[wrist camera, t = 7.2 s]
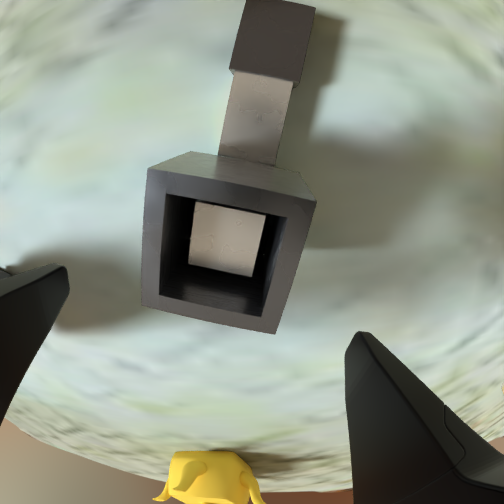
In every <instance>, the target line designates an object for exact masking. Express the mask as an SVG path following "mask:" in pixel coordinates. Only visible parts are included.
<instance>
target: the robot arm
mask: <svg viewBox="0 0 504 504" xmlns="http://www.w3.org/2000/svg"><path fill="white" fill-rule="evenodd" d="M69 291H70V287H69V281H68V274H67V269H66V267H65V266H64V265H60V264H57V263H53V264H50V265H46V266H43V267H40V268H36V269H33V270H30V271H27V272H23V273H20V274H17V275H14V276H13V275H11V274H9V273H6V272H4V271H2V270H0V426H1V423H2V421H3V419H4V417H5V414H6V412H7V410H8V408H9V405H10V403H11V401H12V399H13V397H14V395H15V393H16V391H17V389H18V387H19V385H20V383H21V381H22V379H23V377H24V375H25V373H26V372H27V370H28V368H29V366H30V364H31V362H32V361H33V359H34V357H35V355H36V354H37V352H38V350H39V348H40V347H41V345H42V343H43V342H44V340H45V338H46V337H47V335H48V333H49V332H50V330H51V328H52V326H53V324H54V322H55V320H56V318H57V316H58V314H59V312H60V310H61V308H62V306H63V304H64V302H65V301H66V299H67V297H68V295H69ZM345 401H346V411H347V420H348V430H349V440H350V452H351V465H352V480H353V502H354V504H504V455H503V454H502V453H500V452H499V451H497V450H496V449H495V448H494V447H493V446H491V445H490V444H489V443H488V442H487V441H485V440H484V439H483V438H482V437H481V436H480V435H478V434H477V433H476V432H475V431H474V430H472V429H471V428H470V427H469V426H468V425H467V424H466V423H464V422H463V421H462V420H461V419H460V418H459V417H458V416H457V415H456V414H455V413H454V412H453V411H452V410H451V409H450V408H449V407H448V406H447V405H444V402H443V401H442V400H440V399H439V398H438V397H437V396H436V395H435V394H434V393H433V392H432V391H431V390H430V389H429V388H428V387H427V386H426V385H425V384H424V383H423V382H422V381H421V380H420V379H419V378H418V377H417V376H416V375H415V374H414V373H412V372H411V371H410V370H409V369H408V368H407V367H406V366H405V365H404V364H403V363H402V362H401V361H400V360H399V359H398V358H397V357H396V356H395V355H394V354H392V353H391V352H390V351H389V350H388V349H387V348H386V347H385V346H384V345H383V344H382V343H381V342H380V341H379V340H378V339H376V338H375V337H374V336H373V335H372V334H371V333H369V332H362V331H358V332H357V333H356V334H355V335H354V337H353V339H352V341H351V342H350V344H349V346H348V348H347V350H346V352H345Z"/></svg>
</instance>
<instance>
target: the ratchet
mask: <svg viewBox="0 0 504 504" xmlns="http://www.w3.org/2000/svg"><path fill="white" fill-rule="evenodd" d="M315 9H316V8H315V7H311V6H307V5H303V4H298V3H293V2H289V1H283V0H246V3H245V7H244V11H243V14H242V18H241V22H240V26H239V29H238V33H237V37H236V41H235V45H234V49H233V53H232V58H231V62H230V66H229V70H230V71H231V72H232V74H233V75H234V77H233V82H232V86H231V91H230V96H229V100H228V105H227V110H226V115H225V120H224V125H223V130H222V135H221V140H220V145H219V151H218V156H224V157H228V158H233V159H238V160H244V161H249V162H253V163H258V164H263V165H269V166H274V165H275V161H276V157H277V152H278V148H279V143H280V139H281V134H282V130H283V126H284V121H285V117H286V112H287V108H288V104H289V99H290V95H291V90H292V87H295V88H296V86H297V85H298V83H299V82H300V77H301V73H302V68H303V64H304V59H305V55H306V50H307V46H308V41H309V37H310V32H311V28H312V23H313V19H314V14H315ZM273 216H274V215H273V214H268V213H264V212H259V211H255V210H250V209H245V208H240V207H235V206H230V205H225V204H220V203H215V202H210V201H205V200H200V199H197V201H196V205H195V212H194V219H193V227H192V235H191V243H190V252H189V260H188V264H192V265H197V266H201V267H206V268H211V269H216V270H220V271H225V272H230V273H235V274H239V275H244V276H249V277H252V273H253V269H254V264H255V260H256V256H257V253H258V254H264V253H265V249H266V245H267V241H268V237H269V232H270V228H271V224H272V220H273Z"/></svg>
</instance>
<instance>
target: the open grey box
mask: <svg viewBox="0 0 504 504" xmlns="http://www.w3.org/2000/svg"><path fill="white" fill-rule="evenodd" d="M197 199H200V200H205V201H210V202H215V203H220V204H225V205H230V206H235V207H240V208H245V209H250V210H255V211H259V212H264V213H268V214H273V215H274V216H273V220H272V224H271V228H270V232H269V237H268V241H267V245H266V249H265V253H264V255H263V254H258V253H257V256H256V260H255V264H254V269H253V273H252V277H249V276H244V275H239V274H235V273H230V272H225V271H220V270H216V269H211V268H206V267H201V266H197V265H192V264H188V260H189V252H190V243H191V235H192V227H193V219H194V212H195V205H196V201H197ZM316 203H317V201H316V199H315V198H314V196H313V194H312V193H311V191H310V190H309V188H308V186H307V185H306V183H305V181H304V180H303V178H302V177H301V175H300V173H298V172H294V171H290V170H285V169H281V168H277V167H272V166H268V165H263V164H258V163H253V162H249V161H244V160H238V159H233V158H228V157H222V156H217V155H211V154H205V153H199V152H193V151H190V152H187V153H185V154H182V155H179V156H177V157H174V158H172V159H169V160H167V161H164V162H162V163H159V164H157V165H154V166H152V167H150V168H148V170H147V180H146V191H145V203H144V217H143V236H142V305H143V306H147V307H150V308H154V309H158V310H162V311H166V312H170V313H174V314H178V315H182V316H186V317H191V318H195V319H199V320H204V321H208V322H213V323H218V324H222V325H227V326H232V327H237V328H242V329H247V330H253V331H258V332H263V333H269V334H276V331H277V328H278V325H279V322H280V319H281V316H282V313H283V310H284V307H285V304H286V301H287V298H288V295H289V292H290V289H291V286H292V283H293V279H294V276H295V273H296V270H297V267H298V264H299V260H300V257H301V254H302V250H303V247H304V244H305V241H306V237H307V234H308V230H309V227H310V224H311V220H312V217H313V213H314V210H315V206H316Z"/></svg>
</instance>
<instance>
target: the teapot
mask: <svg viewBox="0 0 504 504" xmlns="http://www.w3.org/2000/svg"><path fill="white" fill-rule="evenodd" d="M170 496H173V497H174V498H176V499H178V500H180V501H182V502H184V503H186V504H248V500H249V497H250V496H251V499H252V501H253V503H254V504H266V503H265V502H264V501H263V500H262V498H261V495H260V490H259V485H258V482H257V480H256V479H255V477H254V476H253V473H252V469H251V468H250V466H249V465H248V464H247V463H246V462H245V461H243V460H242V459H241V458H240V457H239V456H238V455H237V454H235V453H234V452H230V451H179V452H176V453H175V454H174V456H173V457H172V460H171V464H170V470H169V478H168V480H167V482H166V485H165V488H164V490H163V492H162V494H161V495H160V496H158V497H156V498H154V499H153V500H156V501H166V500H167V499H169V497H170Z"/></svg>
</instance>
